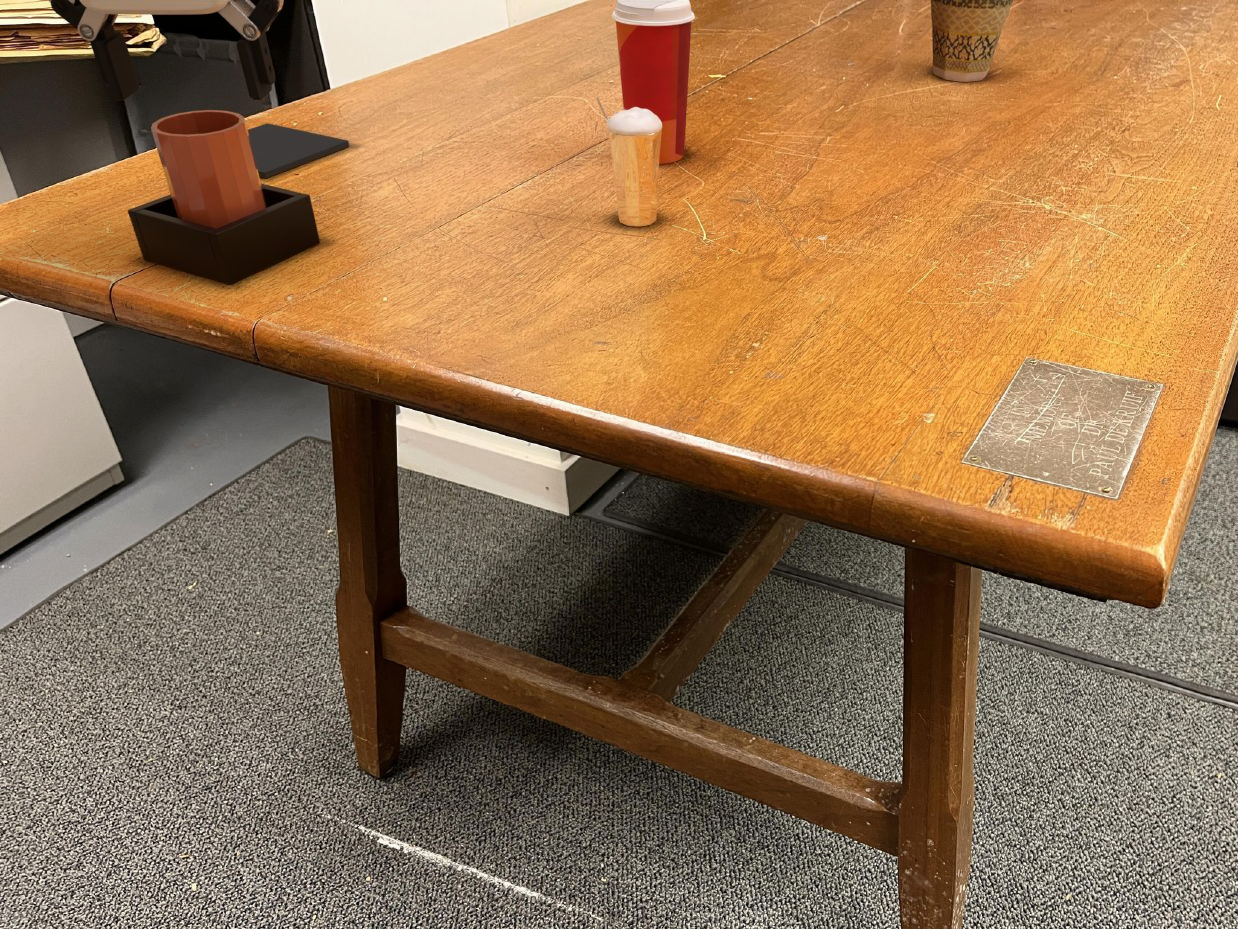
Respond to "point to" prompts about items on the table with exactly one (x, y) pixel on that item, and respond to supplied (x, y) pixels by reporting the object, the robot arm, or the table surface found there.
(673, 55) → the paper cup
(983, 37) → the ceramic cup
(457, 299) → the table surface
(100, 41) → the robot arm
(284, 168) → the coaster
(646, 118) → the milkshake
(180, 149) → the cup
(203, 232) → the open black box
